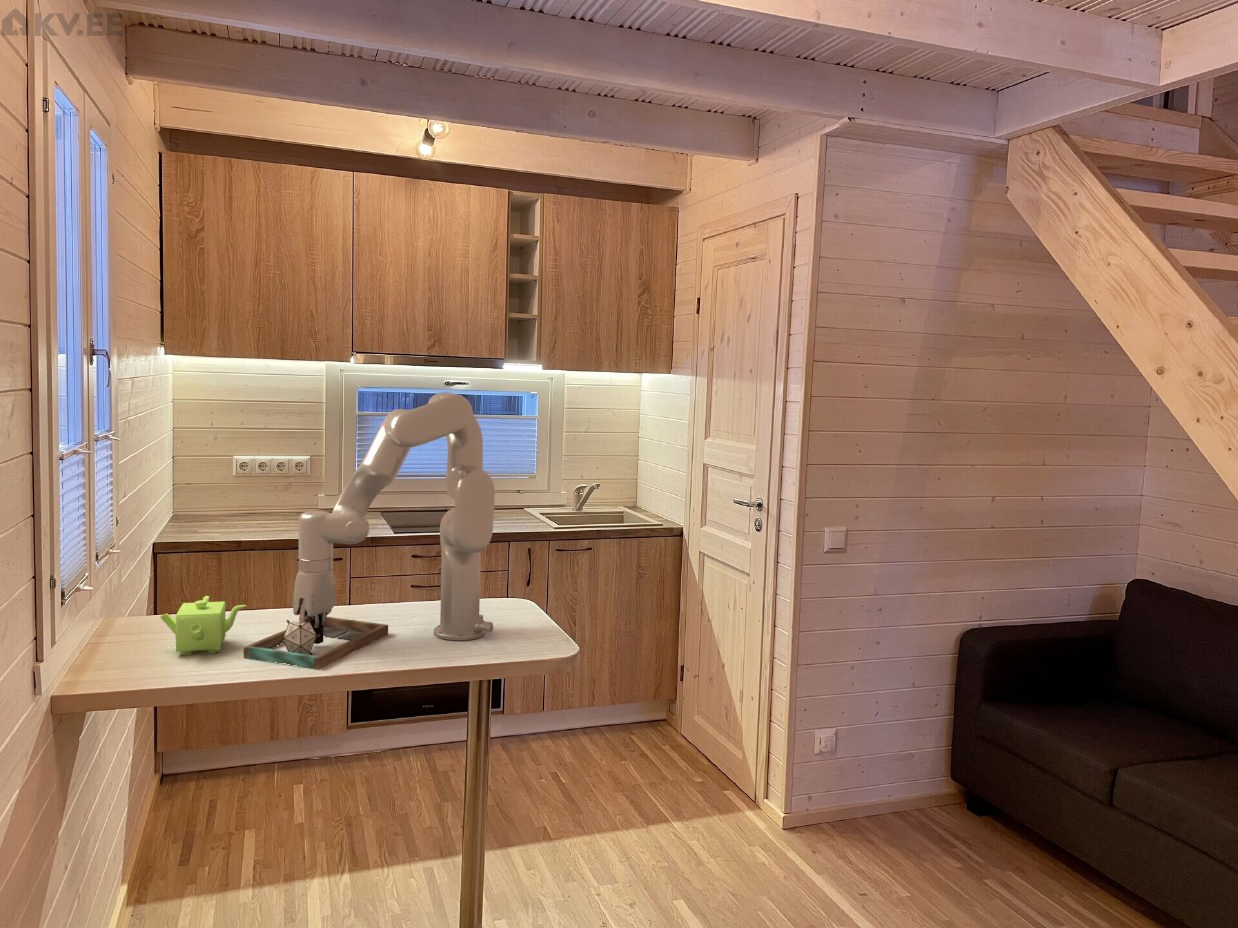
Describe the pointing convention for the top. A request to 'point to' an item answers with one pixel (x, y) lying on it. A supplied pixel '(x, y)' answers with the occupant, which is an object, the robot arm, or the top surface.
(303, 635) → the game die
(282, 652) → the shallow open wooden box
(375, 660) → the top surface
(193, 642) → the kettle
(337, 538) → the robot arm
